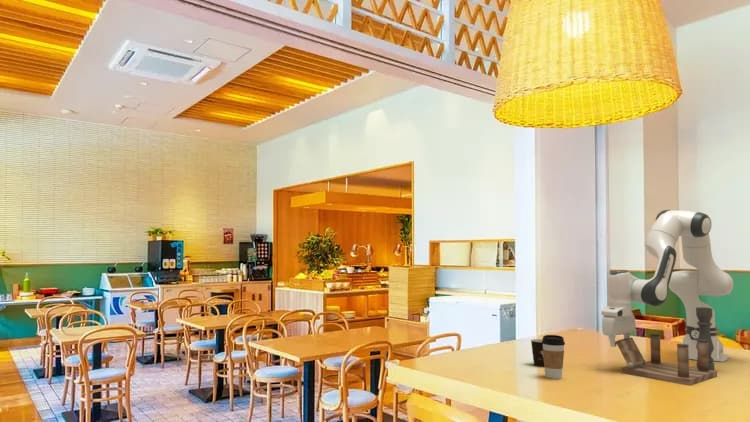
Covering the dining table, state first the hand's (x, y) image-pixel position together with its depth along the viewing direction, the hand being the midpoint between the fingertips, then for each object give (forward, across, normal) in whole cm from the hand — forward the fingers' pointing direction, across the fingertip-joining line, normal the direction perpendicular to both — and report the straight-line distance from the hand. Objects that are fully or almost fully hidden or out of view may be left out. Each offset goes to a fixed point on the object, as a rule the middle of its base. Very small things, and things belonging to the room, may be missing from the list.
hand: (619, 345), depth 226 cm
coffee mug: (+10, +18, -22) cm, 30 cm away
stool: (+9, -7, +16) cm, 20 cm away
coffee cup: (+10, +34, -8) cm, 36 cm away
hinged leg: (+6, 0, +7) cm, 9 cm away
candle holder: (+9, -26, +22) cm, 35 cm away
